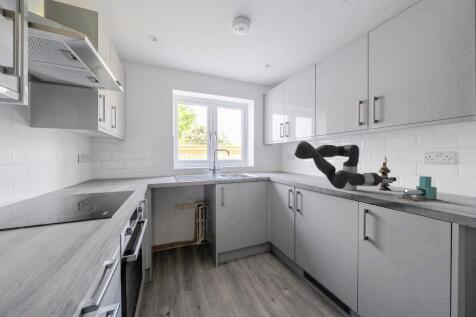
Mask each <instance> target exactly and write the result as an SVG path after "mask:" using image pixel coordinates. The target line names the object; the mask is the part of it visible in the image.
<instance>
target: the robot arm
mask: <svg viewBox="0 0 476 317" xmlns="http://www.w3.org/2000/svg"><path fill="white" fill-rule="evenodd" d="M294 156H295V157H296V158H297V159H299V160H300V159H301V160H309V159H311V160H313V162H314V165H315V166H316V168H317V169H318V170H319V171H320V172H321V173H322V174H323V175H325V178H327V180H328V181H329V183H330V185H332V186H333V187H334V188H335V189H338V190H346V191H357V190H358V186H359V187H361V186H362V187H377V186H380V183H389V184H393V182H397V177H395V176H394V177H393V176H388V177H386V176H381V175H379V173H378V172H358V165H359V160H360V159H359V158H360V148H359V145H357V144H344V145H335V144H322V145H319V146H317V147H315V146H313V145H312V144H311V143H309V142H307V141H305V140H302V141H301V140H300V141H299V143H298V144H297V146H296V148H295V151H294ZM335 157H343V158H348V159H347V160H346V161H344V162H343V163H342V169H339V170H337V168H336V166H334V165H333V164H332V163H331V162H329V161H328V160H327V159H326V158H329V159H330V158H335Z"/></svg>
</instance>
